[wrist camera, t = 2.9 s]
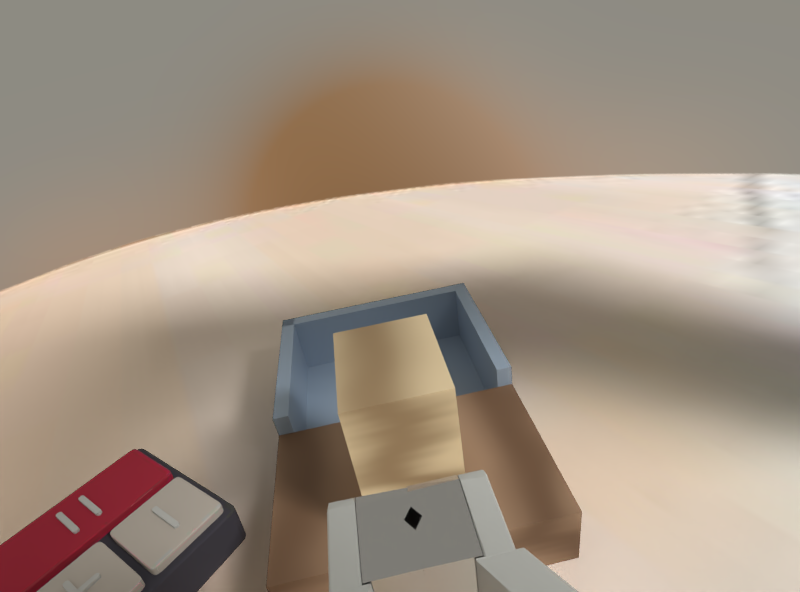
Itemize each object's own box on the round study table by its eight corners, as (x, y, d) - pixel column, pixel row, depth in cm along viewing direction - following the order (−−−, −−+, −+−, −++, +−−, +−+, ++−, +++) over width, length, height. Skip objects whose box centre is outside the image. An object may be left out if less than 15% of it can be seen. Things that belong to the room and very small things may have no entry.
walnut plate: (513, 425, 35) (511, 383, 33) (578, 557, 26) (581, 511, 24) (294, 475, 34) (279, 435, 32) (288, 628, 25) (266, 587, 23)
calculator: (234, 498, 29) (-75, 792, 19) (253, 544, 31) (-16, 831, 21) (136, 438, 35) (-141, 635, 24) (157, 479, 37) (-90, 677, 26)
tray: (468, 333, 45) (463, 283, 42) (513, 425, 35) (511, 366, 32) (299, 369, 44) (282, 320, 42) (294, 475, 34) (272, 419, 31)
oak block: (443, 433, 30) (426, 313, 25) (470, 519, 25) (455, 387, 20) (364, 451, 30) (332, 333, 25) (375, 542, 25) (337, 413, 20)
